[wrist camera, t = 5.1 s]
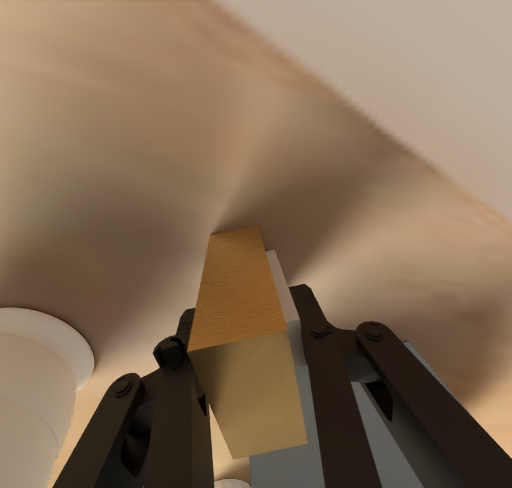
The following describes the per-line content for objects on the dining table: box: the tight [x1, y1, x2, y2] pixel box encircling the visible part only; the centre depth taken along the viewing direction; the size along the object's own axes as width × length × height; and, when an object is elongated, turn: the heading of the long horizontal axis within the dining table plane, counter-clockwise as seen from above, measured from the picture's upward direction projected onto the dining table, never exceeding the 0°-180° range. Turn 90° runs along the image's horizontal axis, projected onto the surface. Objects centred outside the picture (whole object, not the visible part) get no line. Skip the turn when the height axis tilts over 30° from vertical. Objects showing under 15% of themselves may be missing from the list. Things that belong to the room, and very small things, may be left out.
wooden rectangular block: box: [187, 225, 308, 459], centre depth 13 cm, size 6×3×9 cm, turn 11°
